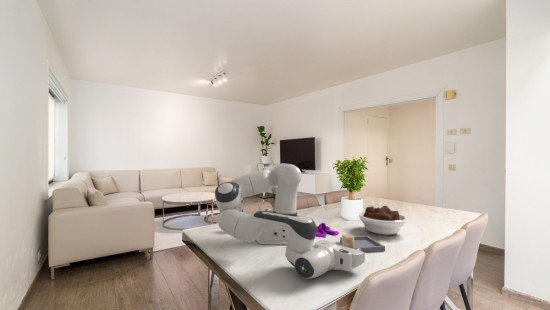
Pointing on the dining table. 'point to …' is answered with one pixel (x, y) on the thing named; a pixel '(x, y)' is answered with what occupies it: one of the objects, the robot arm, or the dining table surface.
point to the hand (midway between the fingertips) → (348, 246)
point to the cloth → (325, 231)
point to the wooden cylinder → (348, 241)
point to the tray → (367, 244)
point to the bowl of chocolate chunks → (382, 220)
